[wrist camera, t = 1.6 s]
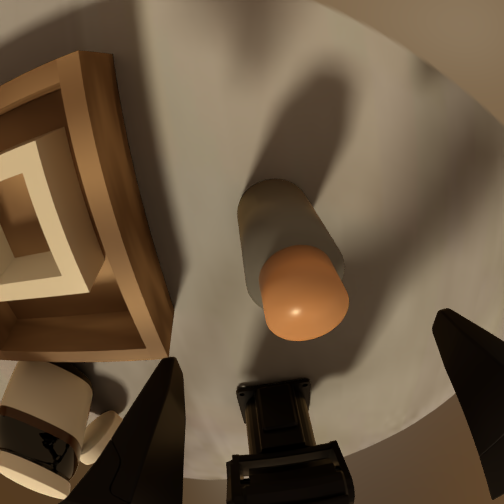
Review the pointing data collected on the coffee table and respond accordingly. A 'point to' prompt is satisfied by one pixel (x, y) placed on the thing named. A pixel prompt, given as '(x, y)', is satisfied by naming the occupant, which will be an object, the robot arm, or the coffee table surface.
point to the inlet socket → (50, 223)
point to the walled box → (101, 215)
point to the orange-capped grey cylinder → (290, 261)
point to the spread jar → (50, 426)
